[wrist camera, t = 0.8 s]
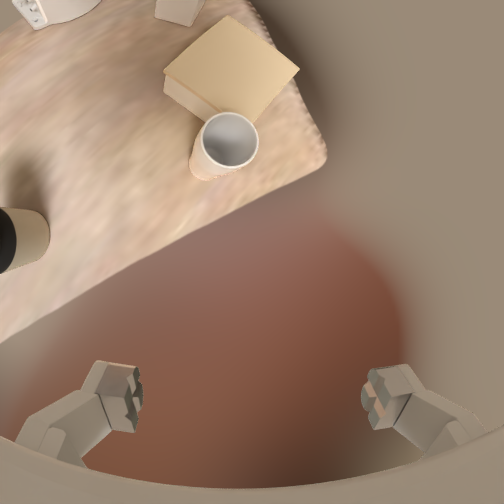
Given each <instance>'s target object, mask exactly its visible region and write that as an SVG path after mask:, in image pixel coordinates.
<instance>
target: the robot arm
mask: <svg viewBox="0 0 504 504" xmlns="http://www.w3.org/2000/svg"><path fill="white" fill-rule="evenodd" d="M100 1H101V0H12V3H13V5H14V6H15V8H16V9H17V10H18V11H19V12H20V14H21V15H22V16H23V17H24V18H25V19H26V21H27V22H28V23H29V24H30V25H31V26H32V28H33V29H34V30H39V29H42V28H44V27H46V26H48V25H51V24H57V23H63V22H67V21H70V20H73V19H76V18H78V17H80V16H82V15H84V14H85V13H87V12H89V11H90V10H91V9H93V8H94V7H95V6H96V5H97V4H98V3H99V2H100ZM36 21H37V22H36ZM139 376H140V372H139V368H138V367H135V366H129V365H123V364H117V363H111V362H110V363H109V362H104V361H99V360H97V361H96V362H95V363H94V365H93V366H92V368H91V370H90V372H89V374H88V376H87V378H86V380H85V382H84V384H83V386H82V388H81V390H80V391H79V390H75V391H74V392H72V393H70V394H69V395H67V396H65V397H63V398H62V399H60V400H58V401H56V402H55V403H53V404H51V405H49V406H47V407H46V408H44V409H42V410H40V411H39V412H37V413H35V414H33V415H31V416H30V417H28V418H27V420H26V422H25V424H24V426H23V428H22V429H21V431H20V433H19V435H18V437H17V439H16V441H15V443H14V442H12V441H10V440H7V439H5V438H3V437H1V436H0V504H504V424H503V425H502V426H500V427H498V428H496V429H494V430H492V431H490V432H488V433H487V431H486V430H485V429H484V427H483V426H482V424H481V423H480V421H479V420H478V419H477V417H476V416H475V415H474V413H473V412H470V411H469V410H466V409H465V408H463V407H461V406H459V405H457V404H455V403H453V402H451V401H449V400H447V399H446V398H444V397H442V396H440V395H438V394H436V393H434V392H432V391H430V390H425V388H424V387H423V385H422V384H421V382H420V381H419V379H418V378H417V376H416V375H415V374H414V372H413V371H412V369H411V368H410V366H409V365H407V364H403V365H397V366H390V367H382V368H374V369H371V371H370V372H369V374H368V379H369V381H368V382H367V383H366V384H365V385H364V386H363V389H362V392H361V400H362V405H363V407H364V409H366V410H367V411H368V412H370V414H369V416H368V418H369V420H370V423H371V425H372V427H373V429H374V430H376V429H382V428H388V427H393V426H394V427H393V428H394V429H396V430H397V431H398V432H399V433H401V434H402V435H403V436H404V437H406V438H407V439H408V440H410V441H411V442H412V443H413V444H415V445H416V446H417V447H418V448H420V449H421V450H422V451H424V452H425V454H424V455H423V456H422V457H421V459H420V460H419V461H416V462H413V463H410V464H407V465H403V466H400V467H396V468H393V469H389V470H385V471H381V472H377V473H373V474H368V475H364V476H359V477H354V478H349V479H344V480H338V481H332V482H326V483H319V484H311V485H302V486H292V487H280V488H264V489H263V488H261V489H215V488H196V487H185V486H175V485H167V484H159V483H152V482H146V481H140V480H134V479H129V478H124V477H119V476H115V475H110V474H106V473H102V472H98V471H94V470H90V469H87V467H86V466H85V464H84V463H83V461H82V460H81V457H82V456H84V455H85V454H86V453H87V452H88V451H89V450H90V449H92V447H94V446H95V445H96V444H97V443H98V442H99V441H101V440H102V439H103V438H104V437H105V436H106V435H107V434H108V433H110V431H112V430H111V429H113V430H119V431H125V432H132V433H135V430H136V426H137V423H138V419H139V418H138V415H137V412H138V411H139V410H141V407H142V404H143V387H142V384H141V383H140V382H139V381H138V380H139Z"/></svg>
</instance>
